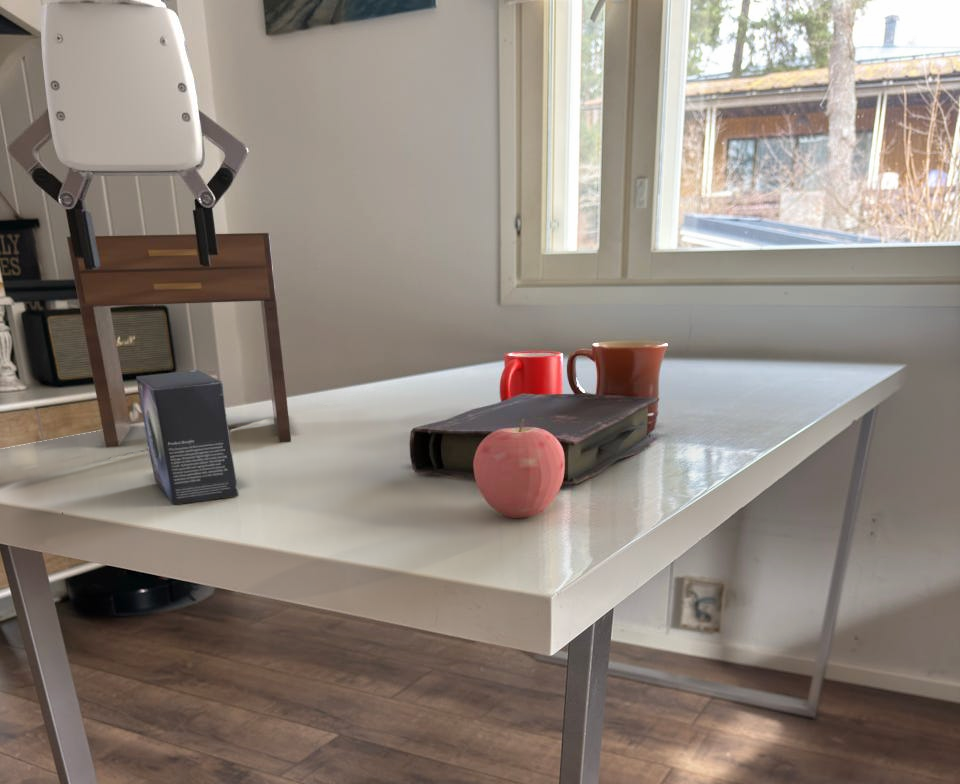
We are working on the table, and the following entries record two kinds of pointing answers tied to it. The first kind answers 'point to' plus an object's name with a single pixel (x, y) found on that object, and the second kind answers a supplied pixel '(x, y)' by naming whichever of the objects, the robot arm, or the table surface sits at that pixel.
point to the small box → (188, 436)
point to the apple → (519, 470)
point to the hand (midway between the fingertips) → (149, 266)
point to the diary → (568, 417)
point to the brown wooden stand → (172, 280)
